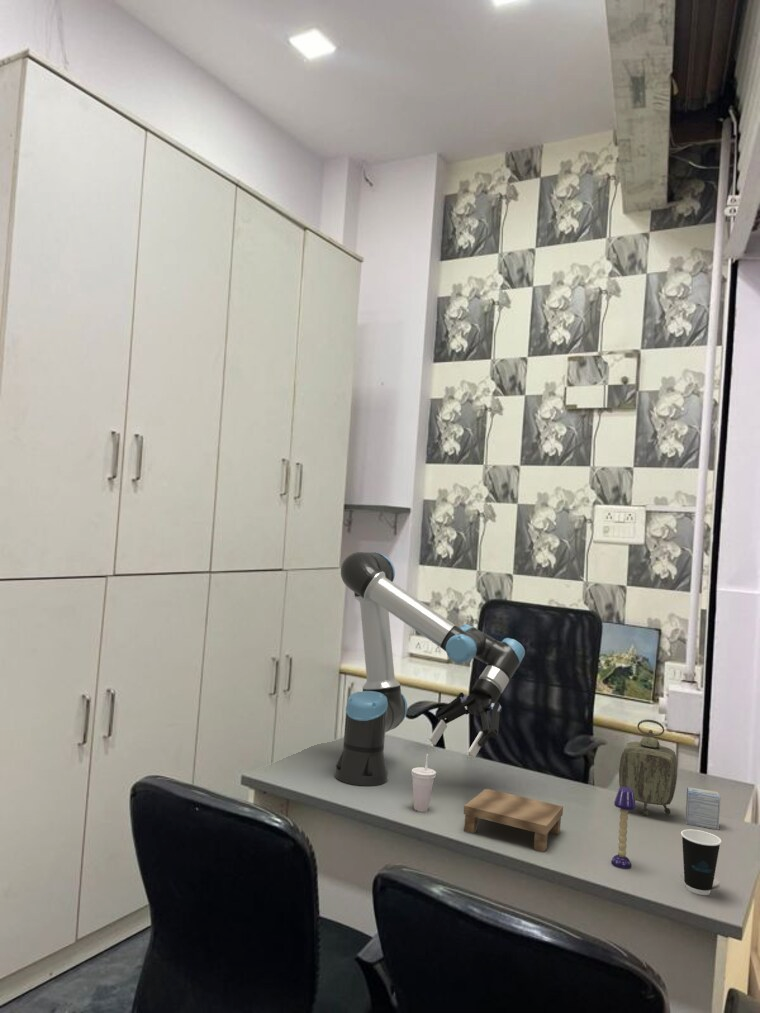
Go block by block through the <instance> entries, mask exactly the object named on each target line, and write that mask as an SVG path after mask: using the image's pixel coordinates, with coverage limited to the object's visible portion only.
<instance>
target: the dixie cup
mask: <svg viewBox="0 0 760 1013" xmlns="http://www.w3.org/2000/svg"><path fill="white" fill-rule="evenodd" d="M680 836H681V840H682V842H681V843H682V856H683V857H682V858H683V859H682V860H683V863H682V864H683V878H684V880H683V881H684V884H685V888H686V890H688V892H691V893H693V894H695V895H701V896H709V895H710V894H711V891H712V889H713V886H714V880H715V874H716V868H717V863H718V857H719V852H720V847H721V846H720V845H721V844H722V842H723V841H722V839H721V837H719V836H717V835H715V834H713V833H710V832H707V831H704V830H700V829H699V830H698V829H690V828H689V829H683V830H681V832H680Z"/></svg>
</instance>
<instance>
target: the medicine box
mask: <svg viewBox="0 0 760 1013" xmlns="http://www.w3.org/2000/svg"><path fill="white" fill-rule="evenodd" d="M720 810H721V796H720V794H719V792H718V791H714V790H708V789H702V788H695V787H689V786H688V787H687V788H686V804H685V823H686V825H690V826H695V827H700V828H706V829H713V830H720V828H719V827H720Z"/></svg>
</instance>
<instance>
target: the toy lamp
mask: <svg viewBox="0 0 760 1013" xmlns="http://www.w3.org/2000/svg"><path fill="white" fill-rule="evenodd" d="M636 804H637V803H636V800H635V798H634V793H633V790H632V789H631V788H628V787H620V786H619V788H618V789H617V793H616V797H615V799H614V803H613V805H614V806H615V807H616V808H618V809H620V814H619V824H618V826H619V828H618V833H619V835H618V844H617V846H618V850H617V854H616V855H614V856H613V857H612V858H611V861H610V862H611V865H612V864H613V865H612V866H614V867H616V868H620V869H629V868H632V863H631V860H630V859H629V858H628V857H627V850H626V849H627V841H628V838H627V835H628V829H627V828H628V826H629V824H628V820H629V815H628V814H629V811H633V810H636V809H637V808H636V807H637V805H636Z"/></svg>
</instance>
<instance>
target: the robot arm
mask: <svg viewBox="0 0 760 1013" xmlns="http://www.w3.org/2000/svg"><path fill="white" fill-rule="evenodd" d="M395 576H396V571H395V566H394V564H393V562H392V561H391V559H390V558H388V557H387V556H386V555H384V554H381V553H380V552H373V551H371V552H366V551H365V552H364V551H358V552H357V551H356V552H353V553H351V554H349V555H347V556H346V557H345V559H344V560H343V561H342V563H341V565H340V577H341V580H342V582H343V583H344V585H345V586H346V587H347V588H349V589H350V590H351V591H353V593H354V599H355V600H356V601H358V602H359V604H360V605H359V608H360V615H361V616H360V617H361V618H360V619H361V628H362V629H361V630H362V640H363V652H364V661H365V662H364V663H365V674H366V682H365V683H364V685H363V686H362V691H356V692H353V693H352V694H350V695H349V696H348V698H347V702H346V706H345V718H344V719H345V720H344V721H345V722H344V731H343V732H344V733H343V746H342V750H341V753H340V755H339V758H338V759H337V760H338V761H337V762H336V765H335V768H334V777H335V778H336V779H337V780H338V779H339V780H338V781H340V782H342V783H345V784H348V785H354V786H366V787H367V786H368V787H369V786H370V787H371V786H379V785H383V784H385V783H386V782H387V781H388V780H389V779H388V776H389V770H388V766H387V762H386V757H385V752H384V750H385V749H384V748H385V737H386V733H387V732H389V731H392V730H395V729H396V728H398V727H399V726H400V724H402V722H404V720H405V718H406V716H407V713H408V701H407V699H406V697H405V695H404V694H403V693H402V689H401V682H399V681H398V680H397V679H396V676H395V666H394V657H393V647H392V634H391V625H390V624H391V623H390V614H392V616H394V617H396V618H397V619H399V620H400V621H402V622H403V623H405V624H406V625H408V627H410V628H411V629H413V630H414V631H416V632H418V633H419V634H420V635H422V636H423V637H424V638H425V639H427V640H428V641H431V643H433V644H435V645H436V646H437V647H439V648H440V649H442V650H443V651H444V652H446V655H447V657H448V658H449V659H450V660H451V661H452V662H455V663H457V664H458V663H459V664H461V663H463V664H464V663H467V662H470V661H472V660H473V659H476V660H479V661H480V662H482V663H483V664H485V665H486V666H485V668H484V670H483V671H482V673H481V674H480V675H479V677H478V679H476V681H475V683H474V685H473V686H472V688H471V693H470V694H469V695H465V693H464V692H459V694H458V695H457V696H456V697H455V698H454V699H453V700H451V701H450V702H449V703H448V704H446V705H444V706H443V707H442V708H441V709H440V710H439V711H437V712H436V713H435V717H436V718H437V719H438V721H437V723H436V724H435V725H434V727H433V731H432V733H431V735H430V736H429V738H428V740H429V741H430V742H431V744H432V745H433V746H436V745H437V743H438V741H439V740H440V739H441V737H442V735H444V733H445V731H446V729H447V727H448V725H447V724H449V723H450V722H451V723H452V721H454V720H455V721H456V719H458V718H461V717H462V716H464V715H469V714H470V715H474V716H475V715H476V716H477V717H480V720H481V725H482V731H481V730H480V731H479V732H478V734H477V736H476V737H475V739H474V741H473V742H472V744H471V746H470V747H468V748H469V749H468V750H467V752H468V754H469V756H470V757H471V759H475V758H476V756H477V755H478V753H479V751H480V750H481V748H483V747H484V746H485V745H486V744H487V742H488V740H489V739H490V738H494V739H497V738H498V736H499V727H500V726H499V725H500V716H501V713H502V710H503V707H502V706H501V704H500V702H499V699H500V697H501V695H502V693H504V690H505V689H506V687H507V685H508V684H509V682H510V681H511V679H512V677H513V676H514V675H515V673H516V671H517V670H518V668H519V667H520V665H521V662H522V661H523V659H524V658H525V655H526V654H525V653H526V651H525V648H524V646H523V645H522V644H521V643H520V642H519V641H517V640H516V639H514V638H510V637H506V638H504V639H503V640H502V641H499V640H498V639H495V638H494V637H492V636H490V635H488V634H487V633H485V632H483V631H481V630H479V629H478V628H477V627H475V626H471V625H469V624H468V623H467V624H466V623H465V624H462V625H461V627H458V626H457V625H456V624H454V623H453V622H451V620H448V619H447V618H445V617H444V616H443V615H441V614H440V613H438V612H437V611H435V610H434V609H433V608H432V607H429V606H428V605H427V604H425V603H424V602H422V600H419V599H418V598H417V597H415V596H414V595H412V594H411V593H409V592H408V591H406V590H405V589H403V588H401V587H400V586H399V585H397V584H396V583H394V580H395ZM489 711H491V716H490V722H489V715H488V712H489Z"/></svg>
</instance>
